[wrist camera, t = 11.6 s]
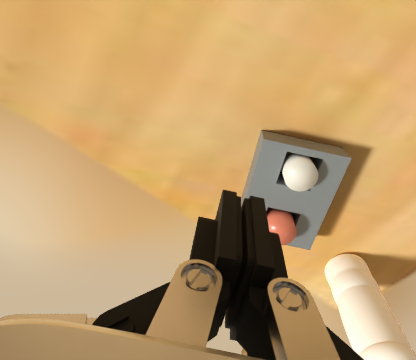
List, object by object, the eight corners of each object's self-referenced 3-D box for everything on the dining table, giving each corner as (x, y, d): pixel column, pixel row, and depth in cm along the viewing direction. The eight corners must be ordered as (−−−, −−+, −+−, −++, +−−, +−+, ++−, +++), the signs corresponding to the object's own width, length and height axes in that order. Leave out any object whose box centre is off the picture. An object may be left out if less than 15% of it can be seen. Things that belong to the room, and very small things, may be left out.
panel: (342, 147, 43) (351, 158, 40) (304, 234, 51) (309, 249, 47) (261, 129, 43) (263, 139, 40) (235, 219, 50) (235, 234, 47)
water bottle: (320, 256, 52) (381, 424, 30) (362, 247, 51) (460, 417, 29) (327, 285, 55) (388, 457, 33) (367, 277, 54) (461, 453, 31)
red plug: (295, 207, 46) (301, 224, 42) (286, 229, 48) (291, 247, 44) (267, 201, 46) (270, 217, 42) (260, 224, 48) (262, 241, 44)
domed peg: (315, 153, 43) (323, 165, 39) (304, 179, 45) (311, 194, 41) (285, 146, 43) (290, 158, 39) (276, 173, 45) (280, 187, 41)
